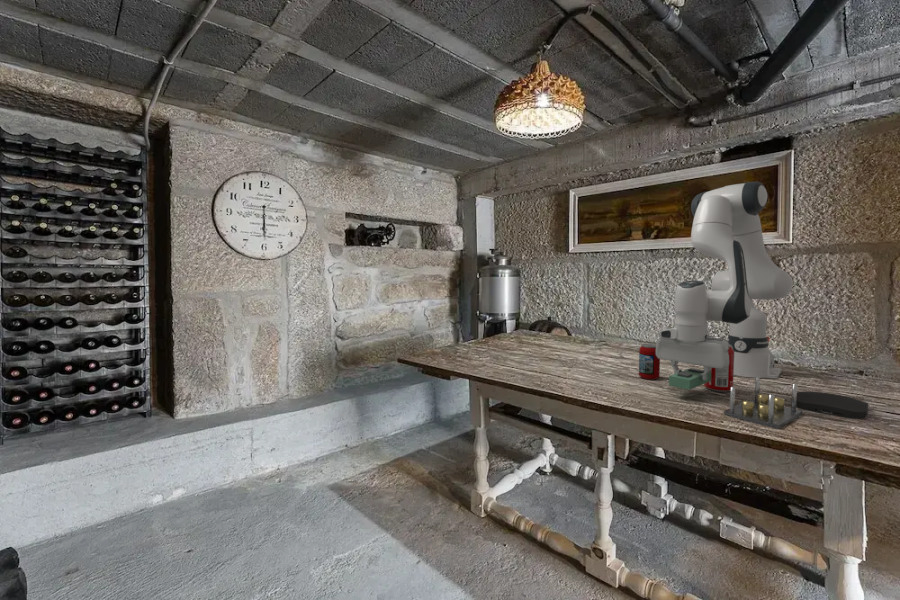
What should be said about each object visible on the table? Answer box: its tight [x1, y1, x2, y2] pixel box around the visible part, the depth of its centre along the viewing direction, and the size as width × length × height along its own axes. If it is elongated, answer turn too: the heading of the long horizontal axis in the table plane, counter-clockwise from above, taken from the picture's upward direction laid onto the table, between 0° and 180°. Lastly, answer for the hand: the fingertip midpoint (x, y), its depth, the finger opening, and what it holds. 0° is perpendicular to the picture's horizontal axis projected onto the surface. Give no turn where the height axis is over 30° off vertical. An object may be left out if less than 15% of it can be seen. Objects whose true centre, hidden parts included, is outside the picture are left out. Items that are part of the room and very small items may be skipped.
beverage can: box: [638, 343, 661, 381], centre depth 144 cm, size 7×7×12 cm
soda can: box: [703, 344, 735, 393], centre depth 129 cm, size 8×8×15 cm
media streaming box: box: [796, 391, 869, 420], centre depth 112 cm, size 15×15×3 cm
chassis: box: [723, 377, 803, 430], centre depth 107 cm, size 17×12×8 cm
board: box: [668, 367, 711, 391], centre depth 124 cm, size 14×6×4 cm, turn 124°
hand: (690, 377), depth 124 cm, fingers closed on board, 6 cm apart
